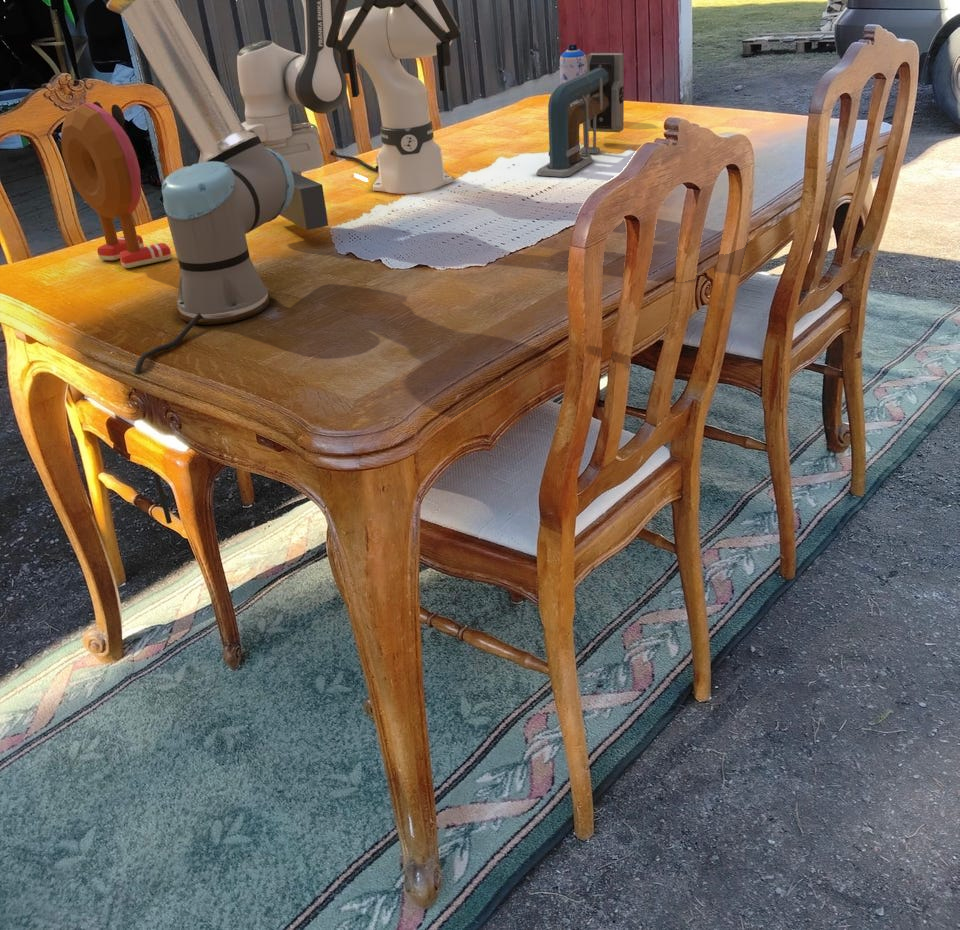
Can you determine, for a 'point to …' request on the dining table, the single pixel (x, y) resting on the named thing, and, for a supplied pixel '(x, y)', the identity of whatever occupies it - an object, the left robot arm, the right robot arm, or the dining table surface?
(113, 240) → the toy
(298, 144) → the right robot arm
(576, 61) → the aerosol can
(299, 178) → the bar
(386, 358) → the dining table surface
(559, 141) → the clamp
